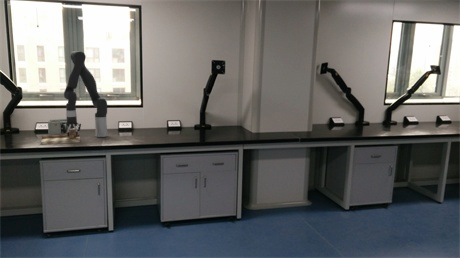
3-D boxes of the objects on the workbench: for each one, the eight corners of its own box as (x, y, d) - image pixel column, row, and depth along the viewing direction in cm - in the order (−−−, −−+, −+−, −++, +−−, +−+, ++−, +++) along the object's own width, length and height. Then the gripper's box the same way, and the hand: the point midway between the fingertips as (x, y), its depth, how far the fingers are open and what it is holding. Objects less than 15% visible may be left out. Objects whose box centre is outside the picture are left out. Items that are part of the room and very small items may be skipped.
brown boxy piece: (76, 135, 301) (75, 128, 299) (76, 138, 291) (75, 131, 290) (69, 136, 299) (69, 129, 298) (69, 138, 289) (69, 131, 288)
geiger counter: (48, 119, 309) (78, 117, 324) (46, 118, 314) (77, 116, 329) (49, 135, 312) (79, 133, 327) (47, 134, 317) (77, 131, 332)
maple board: (79, 138, 304) (79, 134, 303) (80, 142, 291) (79, 137, 291) (42, 140, 293) (41, 135, 292) (41, 144, 280) (40, 139, 280)
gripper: (80, 114, 299) (82, 134, 303) (61, 115, 294) (63, 136, 297) (81, 116, 293) (82, 136, 296) (61, 116, 287) (63, 137, 290)
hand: (72, 136), depth 296 cm, fingers closed on brown boxy piece, 5 cm apart
